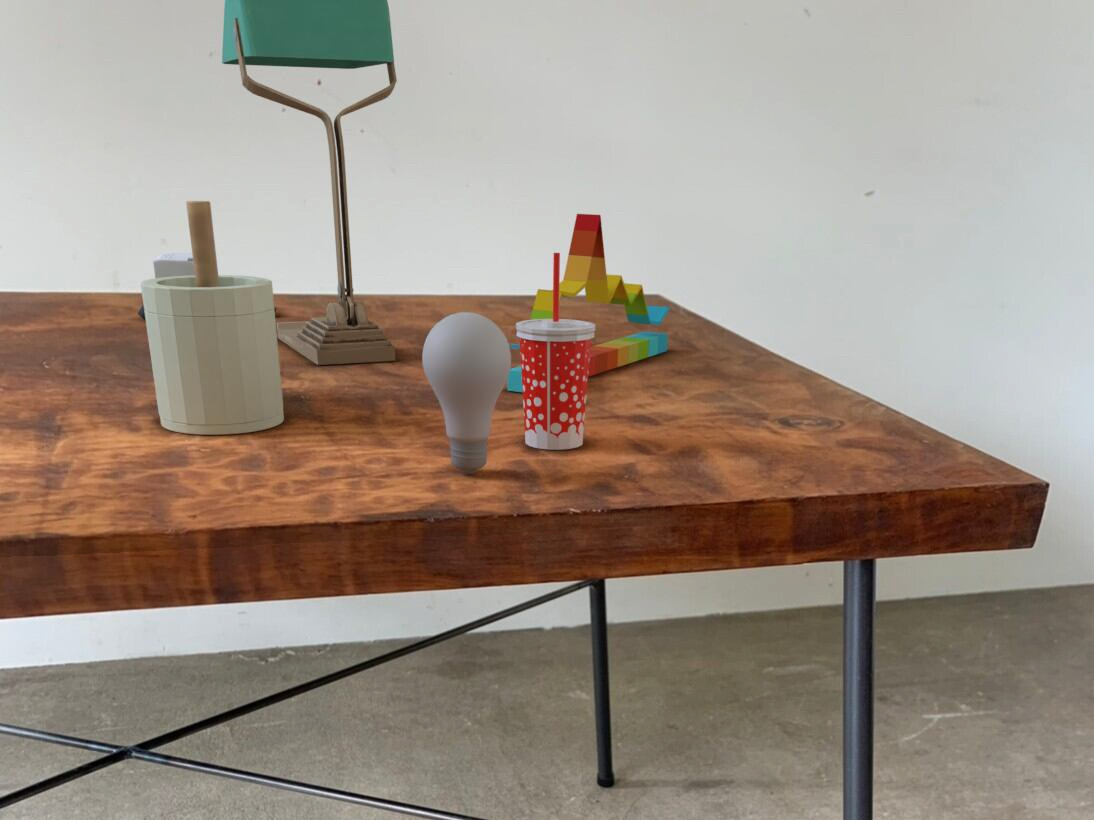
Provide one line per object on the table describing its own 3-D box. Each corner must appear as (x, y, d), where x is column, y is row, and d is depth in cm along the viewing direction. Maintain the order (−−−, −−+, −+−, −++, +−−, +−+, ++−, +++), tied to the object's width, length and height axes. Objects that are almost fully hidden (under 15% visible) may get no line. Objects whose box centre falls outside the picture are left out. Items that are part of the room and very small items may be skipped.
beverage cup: (599, 436, 94) (605, 251, 88) (583, 454, 89) (589, 258, 83) (526, 431, 95) (526, 248, 89) (506, 449, 90) (506, 254, 84)
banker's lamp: (282, 367, 120) (246, -37, 104) (244, 337, 137) (207, -13, 121) (427, 358, 126) (414, -25, 110) (373, 331, 143) (354, -4, 127)
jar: (174, 439, 91) (154, 291, 86) (150, 414, 99) (130, 277, 94) (298, 428, 95) (286, 286, 90) (266, 405, 103) (253, 273, 98)
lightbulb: (505, 462, 87) (504, 306, 81) (517, 483, 81) (517, 318, 76) (423, 464, 86) (417, 306, 80) (430, 486, 80) (423, 319, 75)
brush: (205, 417, 95) (179, 202, 87) (195, 409, 98) (169, 200, 90) (249, 414, 96) (227, 202, 89) (238, 406, 99) (216, 200, 92)
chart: (641, 348, 134) (648, 206, 128) (666, 350, 133) (675, 207, 126) (504, 390, 111) (504, 219, 104) (533, 394, 110) (535, 221, 103)
